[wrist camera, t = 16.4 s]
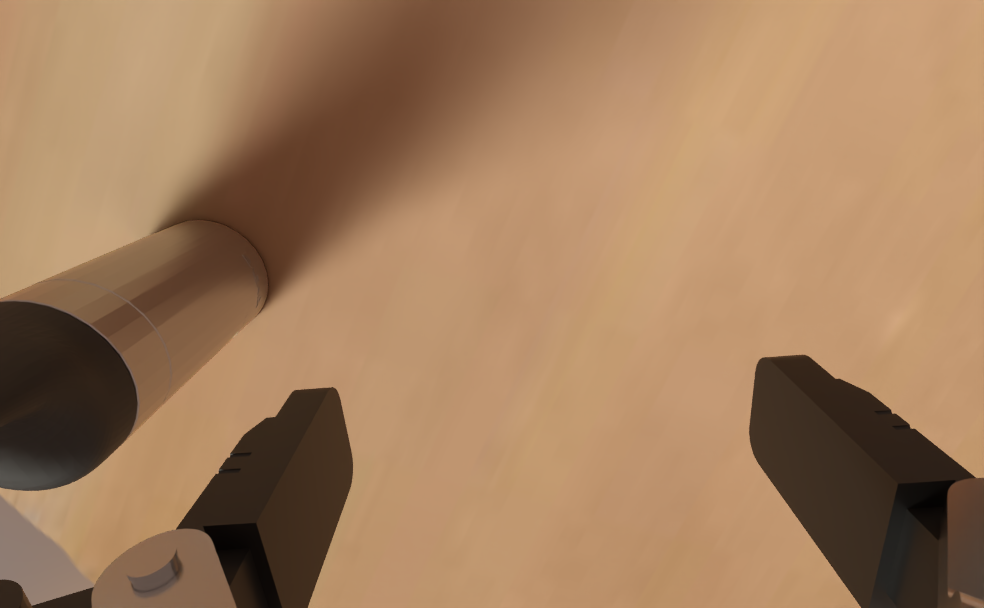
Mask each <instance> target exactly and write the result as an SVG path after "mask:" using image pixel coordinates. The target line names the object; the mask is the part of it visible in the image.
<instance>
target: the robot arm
mask: <svg viewBox="0 0 984 608" xmlns="http://www.w3.org/2000/svg"><path fill="white" fill-rule="evenodd" d="M267 293H268V278H267V272H266V269H265V266H264V263H263V261H262V259H261V257H260V256H259V254H258V252H257V251H256V249H255V248H254V247H253V246H252V245H251V244H250V243H249V241H248V240H247V239H245V238H244V237H243V236H241V235H240V234H239V233H238V232H236V231H234V230H233V229H231V228H229V227H227V226H225V225H222V224H219V223H216V222H213V221H205V220H192V221H185V222H182V223H179V224H176V225H173V226H171V227H169V228H166V229H164V230H162V231H159V232H157V233H155V234H152V235H150V236H147V237H144V238H142V239H140V240H137V241H135V242H133V243H130V244H128V245H126V246H123V247H121V248H118V249H116V250H114V251H111V252H109V253H107V254H104V255H102V256H100V257H97V258H95V259H93V260H90V261H88V262H85V263H83V264H81V265H78V266H76V267H74V268H71V269H69V270H67V271H64V272H62V273H59V274H57V275H55V276H52V277H50V278H48V279H45V280H43V281H41V282H38V283H36V284H34V285H32V286H29V287H27V288H25V289H22V290H20V291H18V292H15V293H13V294H11V295H8V296H6V297H3V298H1V299H0V488H5V489H12V490H23V491H39V490H48V489H53V488H57V487H61V486H64V485H67V484H70V483H72V482H75V481H77V480H79V479H80V478H82V477H84V476H86V475H87V474H88V473H90V472H91V471H93V470H94V469H95V468H97V467H98V466H99V465H100V464H101V463H102V462H103V461H104V460H106V459H107V458H108V457H109V456H110V455H111V454H112V453H113V452H114V451H115V450H116V449H117V448H118V447H119V446H120V445H121V444H123V443H124V442H125V441H126V440H127V439H128V438H129V437H130V436H131V435H132V434H133V433H134V432H135V431H136V430H137V429H138V428H139V427H140V426H141V425H143V424H144V423H145V422H146V421H147V420H148V419H149V418H150V417H151V416H152V415H153V414H154V413H155V412H156V411H157V410H158V409H159V408H160V407H161V406H162V405H163V404H164V403H165V402H166V401H167V400H168V399H170V398H171V397H172V396H173V395H174V394H175V393H176V392H177V391H178V390H179V389H180V388H181V387H182V386H183V385H184V384H185V383H186V382H187V381H188V380H189V379H191V378H192V377H193V376H194V375H195V374H196V373H197V372H198V371H199V370H200V369H201V368H202V367H203V366H204V365H205V364H206V363H207V362H208V361H209V360H210V359H212V358H213V357H214V356H215V355H216V354H217V353H218V352H219V351H220V350H221V349H222V348H223V347H224V346H225V345H226V344H227V343H228V342H229V341H230V340H231V339H233V338H234V337H235V336H236V335H237V334H238V333H239V332H240V331H241V330H242V329H243V328H244V327H245V326H246V325H247V324H248V323H249V322H250V321H251V320H252V319H253V318H254V317H256V316H257V315H258V313H259V312H260V310H261V309H262V307H263V306H264V303H265V301H266V298H267ZM749 435H750V443H751V447H752V451H753V454H754V456H755V458H756V460H757V462H758V464H759V465H760V466H761V468H762V469H763V471H764V472H765V473H766V475H767V476H768V478H769V479H770V480H771V482H772V483H773V485H774V486H775V487H776V489H777V490H778V492H779V493H780V494H781V496H782V497H783V499H784V500H785V501H786V503H787V504H788V506H789V507H790V508H791V510H792V511H793V513H794V514H795V515H796V517H797V518H798V520H799V521H800V522H801V524H802V525H803V527H804V528H805V529H806V531H807V532H808V534H809V535H810V536H811V538H812V539H813V541H814V542H815V543H816V545H817V546H818V548H819V549H820V550H821V552H822V553H823V555H824V556H825V557H826V559H827V560H828V562H829V563H830V564H831V566H832V567H833V569H834V570H835V571H836V573H837V574H838V576H839V577H840V578H841V580H842V581H843V583H844V584H845V585H846V587H847V588H848V590H849V591H850V592H851V594H852V595H853V597H854V598H855V599H856V601H857V602H858V604H859V605H860V606H861V608H984V478H976V477H974V476H973V475H972V474H971V473H969V472H968V471H967V470H966V469H964V468H963V467H962V466H961V465H959V464H958V463H957V462H956V461H954V460H953V459H952V458H951V457H949V456H948V455H947V454H946V453H944V452H943V451H942V450H941V449H939V448H938V447H937V446H936V445H934V444H933V443H932V442H931V441H929V440H928V439H927V438H926V437H924V436H923V435H922V434H921V433H919V432H918V431H917V430H916V429H911V428H910V425H909V424H908V423H907V422H906V421H904V420H903V419H902V418H901V417H899V416H898V415H897V414H892V412H891V409H889V408H888V407H887V406H886V405H884V404H883V403H882V402H881V401H879V400H878V399H877V398H876V397H874V396H873V395H872V394H871V393H869V392H867V391H865V390H863V389H861V388H858V387H856V386H854V385H852V384H850V383H848V382H845V381H843V380H841V379H835V378H834V377H833V376H831V375H830V374H829V373H828V372H827V371H826V370H824V369H823V368H822V367H821V366H820V365H818V364H817V363H816V362H815V361H814V360H812V359H811V358H810V357H808V356H806V355H792V356H778V357H765V358H761V359H760V360H759V362H758V364H757V366H756V371H755V380H754V390H753V399H752V408H751V418H750V427H749ZM352 476H353V460H352V453H351V448H350V443H349V438H348V434H347V429H346V424H345V419H344V415H343V410H342V405H341V400H340V397H339V394H338V392H337V390H336V389H335V388H333V387H332V388H318V389H304V390H294V391H293V392H292V393H291V395H290V396H289V398H288V399H287V401H286V402H285V404H284V405H283V407H282V408H281V410H280V411H279V413H278V414H277V416H276V417H271V418H266V419H264V420H263V421H262V422H260V423H259V424H258V425H256V426H255V427H254V428H252V429H251V430H250V431H248V432H247V433H246V434H244V436H243V437H242V438H241V440H240V441H239V443H238V444H237V445H236V447H235V448H234V449H233V451H232V452H231V454H230V458H227V459H226V460H225V462H224V463H223V465H222V466H221V467H220V469H219V474H215V476H214V477H213V478H212V480H211V481H210V483H209V484H208V485H207V487H206V488H205V490H204V491H203V492H202V494H201V495H200V496H199V498H198V499H197V501H196V502H195V503H194V505H193V506H192V508H191V509H190V510H189V512H188V513H187V514H186V516H185V517H184V519H183V520H182V521H181V523H180V524H179V526H178V527H177V528H176V530H172V531H167V532H164V533H161V534H158V535H155V536H153V537H150V538H148V539H146V540H144V541H142V542H140V543H138V544H137V545H135V546H133V547H132V548H130V549H128V550H127V551H126V552H124V553H123V554H121V555H120V556H119V557H118V558H117V559H115V560H114V561H113V562H112V563H111V564H110V565H109V566H108V567H107V568H106V569H105V570H104V572H103V573H102V574H101V575H100V577H99V578H98V580H97V582H96V584H95V585H94V587H93V588H90V589H86V590H83V591H80V592H76V593H73V594H70V595H66V596H63V597H60V598H56V599H53V600H50V601H46V602H43V603H40V604H36V605H33V606H31V604H30V602H29V600H28V598H27V597H26V595H25V593H24V591H23V589H22V587H21V586H20V585H19V584H18V583H16V582H14V581H11V580H0V608H308V605H309V602H310V599H311V596H312V594H313V591H314V588H315V585H316V583H317V580H318V577H319V574H320V571H321V569H322V566H323V563H324V560H325V557H326V555H327V552H328V549H329V546H330V543H331V541H332V538H333V535H334V532H335V529H336V527H337V524H338V521H339V518H340V515H341V513H342V510H343V507H344V504H345V502H346V499H347V496H348V493H349V490H350V487H351V483H352Z"/></svg>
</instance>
